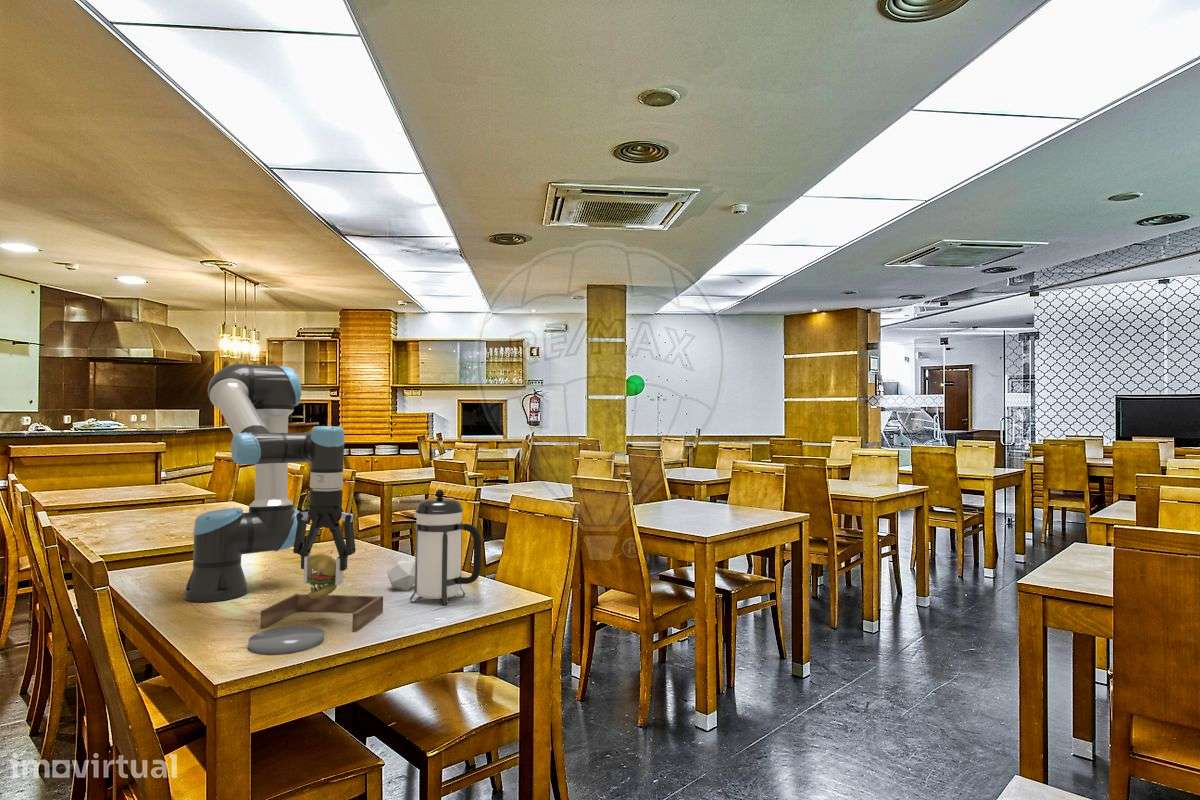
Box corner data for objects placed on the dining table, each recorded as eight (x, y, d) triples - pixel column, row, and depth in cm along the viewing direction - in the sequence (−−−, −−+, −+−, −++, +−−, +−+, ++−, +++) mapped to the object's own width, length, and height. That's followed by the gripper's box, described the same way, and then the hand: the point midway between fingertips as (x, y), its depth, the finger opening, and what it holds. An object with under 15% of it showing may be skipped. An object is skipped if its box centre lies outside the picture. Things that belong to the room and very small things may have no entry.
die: (425, 589, 200) (417, 559, 205) (415, 580, 193) (408, 550, 198) (398, 600, 199) (391, 570, 204) (387, 591, 192) (381, 560, 197)
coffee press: (414, 610, 175) (416, 493, 176) (406, 595, 190) (408, 487, 191) (480, 603, 182) (482, 491, 183) (467, 590, 197) (469, 486, 198)
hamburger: (312, 593, 170) (314, 545, 170) (342, 593, 170) (344, 545, 171) (302, 602, 162) (303, 551, 162) (333, 602, 163) (334, 552, 163)
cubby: (260, 628, 159) (260, 610, 159) (295, 609, 175) (295, 593, 175) (356, 631, 158) (356, 613, 158) (382, 612, 173) (383, 596, 174)
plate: (233, 653, 142) (233, 645, 142) (272, 631, 157) (272, 624, 157) (303, 655, 141) (303, 648, 141) (335, 633, 156) (335, 626, 156)
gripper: (278, 489, 164) (275, 585, 163) (360, 492, 162) (357, 588, 162) (294, 486, 171) (291, 577, 171) (372, 488, 170) (369, 581, 169)
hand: (323, 583), depth 166 cm, fingers closed on hamburger, 7 cm apart
